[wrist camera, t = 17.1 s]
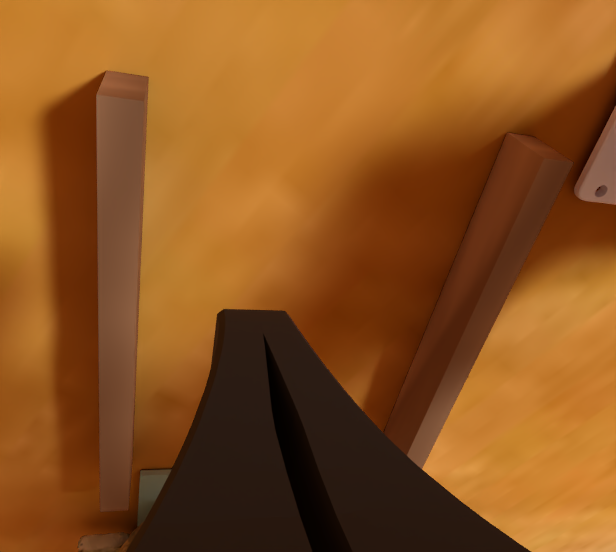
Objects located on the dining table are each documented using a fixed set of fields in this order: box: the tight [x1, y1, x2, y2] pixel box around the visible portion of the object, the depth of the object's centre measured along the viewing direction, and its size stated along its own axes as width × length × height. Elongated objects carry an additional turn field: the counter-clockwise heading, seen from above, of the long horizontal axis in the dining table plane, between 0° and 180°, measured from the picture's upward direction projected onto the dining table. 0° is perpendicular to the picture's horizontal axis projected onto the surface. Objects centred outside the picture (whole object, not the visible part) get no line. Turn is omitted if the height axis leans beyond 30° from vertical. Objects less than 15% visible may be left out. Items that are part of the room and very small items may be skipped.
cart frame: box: [96, 71, 574, 512], centre depth 22 cm, size 15×18×2 cm
